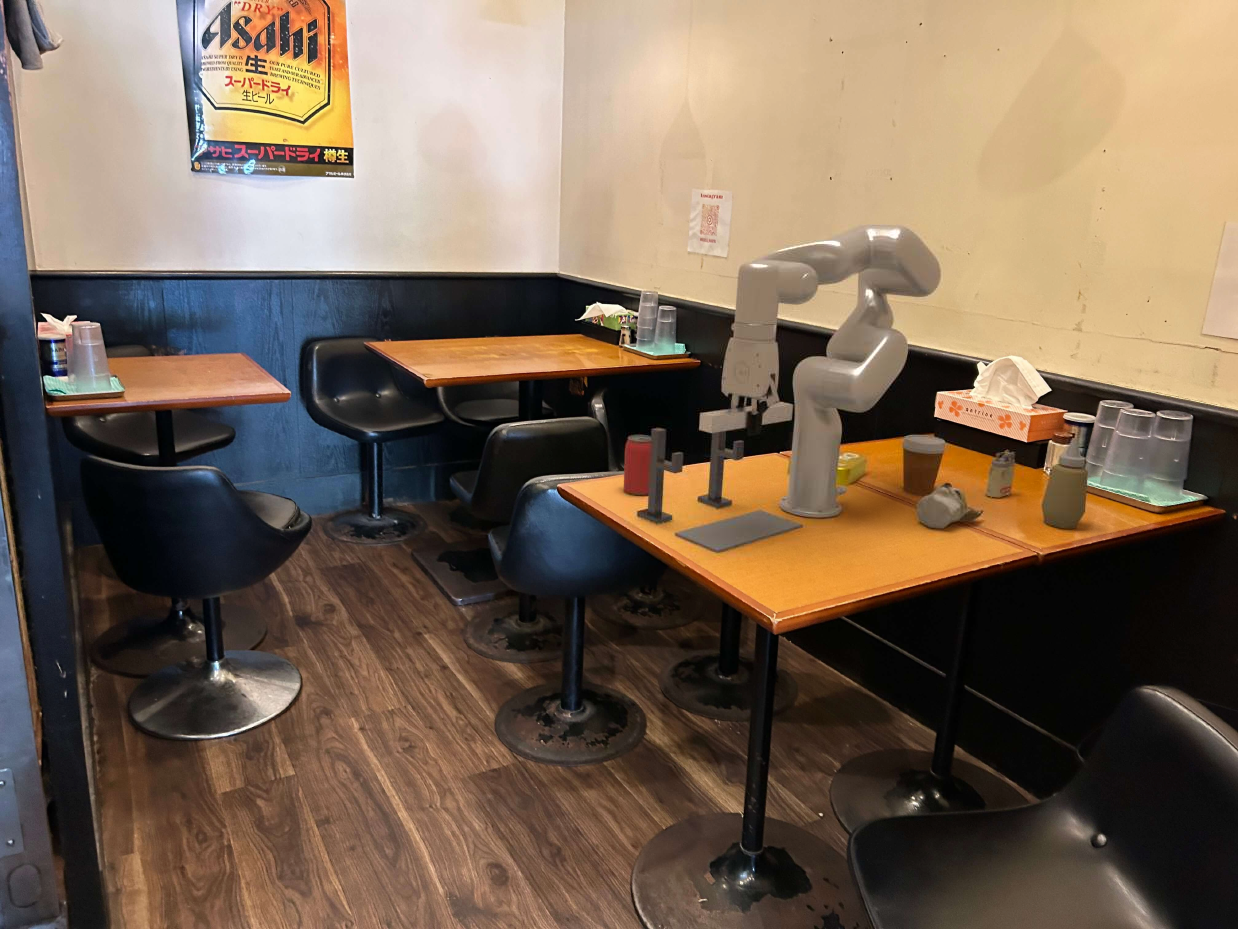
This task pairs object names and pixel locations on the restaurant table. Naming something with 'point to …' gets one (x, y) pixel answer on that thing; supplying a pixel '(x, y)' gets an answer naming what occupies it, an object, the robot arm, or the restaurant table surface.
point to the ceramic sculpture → (945, 507)
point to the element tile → (847, 468)
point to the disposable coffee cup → (921, 463)
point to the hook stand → (675, 466)
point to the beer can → (637, 465)
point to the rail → (742, 417)
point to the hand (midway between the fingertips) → (746, 431)
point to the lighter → (1001, 475)
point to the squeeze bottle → (1066, 490)
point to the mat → (738, 530)
